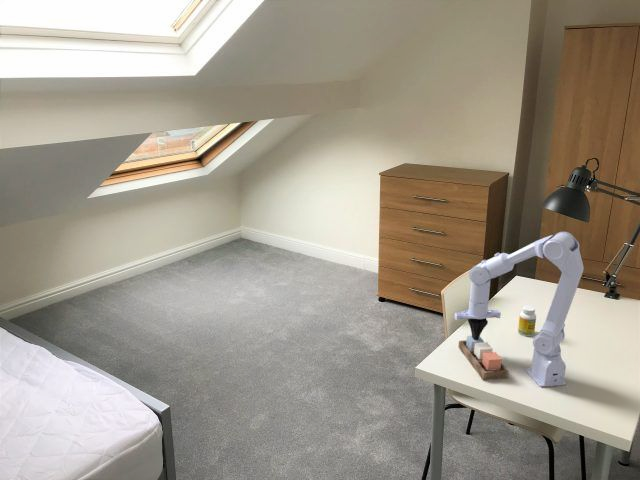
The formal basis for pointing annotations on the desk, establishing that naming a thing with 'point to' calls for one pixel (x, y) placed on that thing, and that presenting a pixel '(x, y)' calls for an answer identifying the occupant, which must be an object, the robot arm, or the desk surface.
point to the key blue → (472, 342)
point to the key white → (482, 349)
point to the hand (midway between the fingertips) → (475, 338)
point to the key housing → (479, 366)
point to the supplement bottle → (527, 321)
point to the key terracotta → (491, 361)
